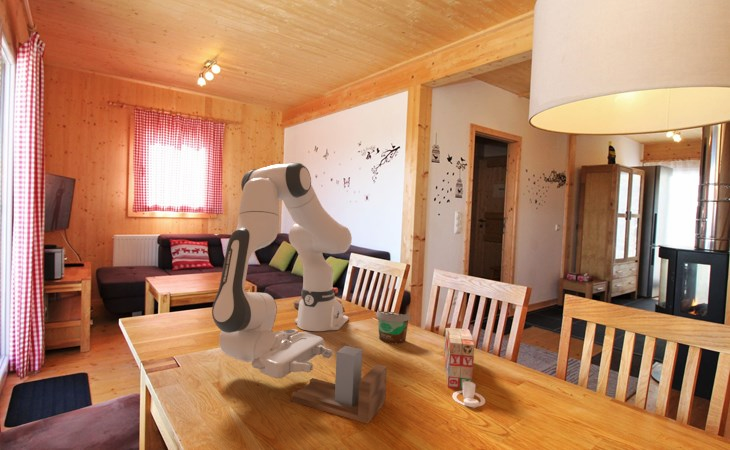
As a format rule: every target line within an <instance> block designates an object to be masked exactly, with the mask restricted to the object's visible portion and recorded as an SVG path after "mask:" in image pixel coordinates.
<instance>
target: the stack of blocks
mask: <svg viewBox="0 0 730 450" xmlns="http://www.w3.org/2000/svg"><path fill="white" fill-rule="evenodd" d="M444 329H445V330H444V366H445V373H446V382H447V383H446V384H447V385H446V386H447V388H449V389H450V388H451V389H461V390H463V382H465V381H469V382H473V372H474V371H473V367H474V362H475V361H474V359H475V358H474V357H475V349H476V347H475V344H476V343H474V339H473V336H472V333H471V331H470V329H468V328H455V327H445V328H444Z"/></svg>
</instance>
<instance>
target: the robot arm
mask: <svg viewBox="0 0 730 450" xmlns="http://www.w3.org/2000/svg"><path fill="white" fill-rule="evenodd" d="M240 183H241V185H240V186H241V196H240V202H239V207H238V208H239V209H238V210H239V211H238V220H237V221H238V222H237V226H236V229H235V230H234V231H233V232H232V233H231V235H230V236H229V240H228V242H227V245H226V249H225V250H226V251H225V256H224V261H223V265H222V271H221V277H220V280H219V281H220V282H219V287H218V290H217V292H216V296H215V298H214V301H213V303H212V308H211V316H212V319H213V322H214V324H215V325H216V327H217V328H218V329H219V330H220V333H219V337H218V345H219V347H220V350H221V351H222V352H223V353H224V354H225V355H226V356H228V357H231V358H233V359H235V360H238V361H243V362H246V363H251V367H252V368H254V369H257V370H258V371H259V372H260V373H261V374H263V375H266V376H268V377H270V378H274V379H283V378H285V377H286V376H287V375H289V374H291V373H299V372H300V373H302V372H304V373H310V372H311V371H312V370H313V366H314V364H313V363H312V362H309V361H310V360H312V359H313V358H315V357H316V356H320V355H322V357H323V358H324V359H325V358H326V359H329V358H331V357H332V356H333V350H332V349H329V348H326V347H325V340H324V338H323V337H322V336H319V335H315V334H313V333H312V334H311V333H307V332H299V330H298V329H301V330H304V331H310V332H325V331H338V330H340V329H342V327H343V326H344V325H345V323H347V322H348V320H349V316H347V315H345V314H343V313H344V311H343V304H342V305H341V304H340V303H339V302H338V301H337V300H338V299H337V298H336V296H335V294H337V293H338V292H339V289H338V287H333V283H334V269H333V267H332V265H331V264H330V263H328V262H327V260H326V259H325V257H324V255H323V254H329V255H336V254H344V253H346V252H347V251H348V250H349V249H350V247H351V245H352V238H353V237H352V233H351V231H350V229H349V228H348V227H347V226H344V225H343V224H341V223H339V222H338V221H337V220H335V218H334V217H332V216H331V214H329V213H328V212H327V211H326V210H325V208H324V207H323V206H322V204H321V202H320V200H319V197H318V196H317V194H316V192H315V189H314V188H313V186H312V178H311V174H310V170H309V169H308V168H307V166H306V165H304V164H303V163H299V162H290V163H281V164H280V163H279V164H273V165H272V164H271V165H269V166H264V167H260V168H259V169H258V168H254V169H252V170H249V171H247V172H246V173H245V174H244V175H243V177H242V180H241V182H240ZM280 201H282V202H283V204H284V205H285V207H286V209H287V211H288V214H290V216H291V218H292V221H294V224H293V225H292V226H291V227H290V229H289V231H288V240H289V243H290V245H291V246H292V247H293V248H294V249H295V251H296V252H297V254H298V256H299V259H300V261H301V265H302V276H303V280H302V281H303V283H302V288H301V299H302V300H301V301H300V302H299V309H298V311H297V318H295V320H294V323H296V324H297V325H296V326H297V327H298V329H296V328H292V329H286V330H275V331H273V328H274V324H275V322H276V317H277V313H278V308H277V301H276V300H275V299H274V297H273V296H272V295H270V294H269V293H267V292H258V291H256V292H255V291H253V292H252V291H251V292H250V291H246V288H245V287H246V280H247V273H248V267H249V261H250V259H251V256H252V255H253V254H254V253H255V252H256V251H258V250H261V249H262V248H266V247H268V246H270V245H271V244H272V243H273V242H274V241H275V240H276V238H277V236H278V233H279V229H280ZM336 299H337V300H336Z"/></svg>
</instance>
